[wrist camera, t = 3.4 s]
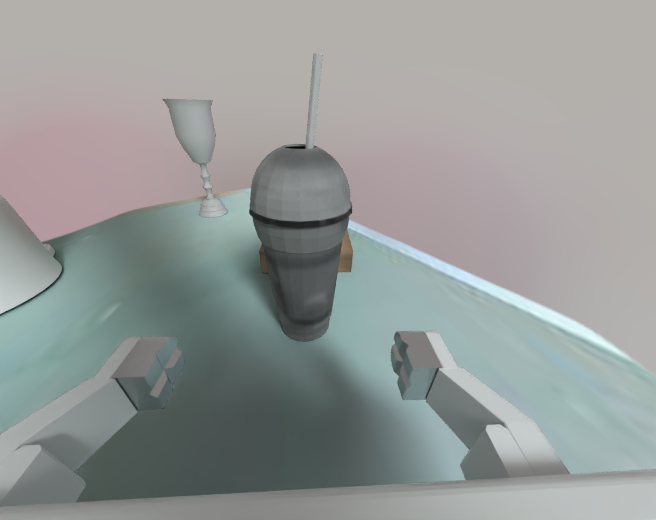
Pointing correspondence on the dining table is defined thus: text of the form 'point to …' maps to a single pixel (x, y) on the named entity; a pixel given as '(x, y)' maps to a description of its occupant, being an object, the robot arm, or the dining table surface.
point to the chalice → (197, 143)
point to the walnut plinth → (344, 261)
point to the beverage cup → (302, 226)
